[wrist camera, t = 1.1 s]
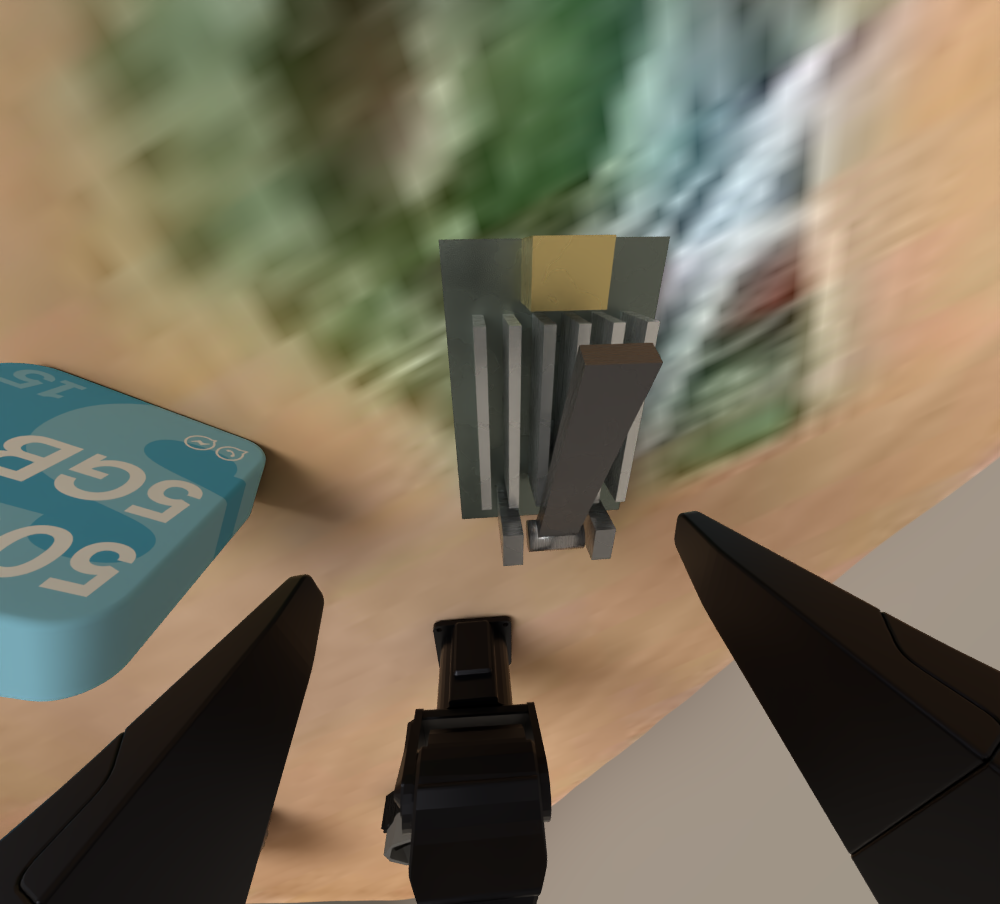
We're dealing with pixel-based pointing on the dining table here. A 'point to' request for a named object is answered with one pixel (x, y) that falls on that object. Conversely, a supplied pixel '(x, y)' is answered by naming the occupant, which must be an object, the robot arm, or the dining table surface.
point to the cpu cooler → (395, 833)
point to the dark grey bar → (590, 437)
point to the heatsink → (537, 362)
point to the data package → (102, 524)
